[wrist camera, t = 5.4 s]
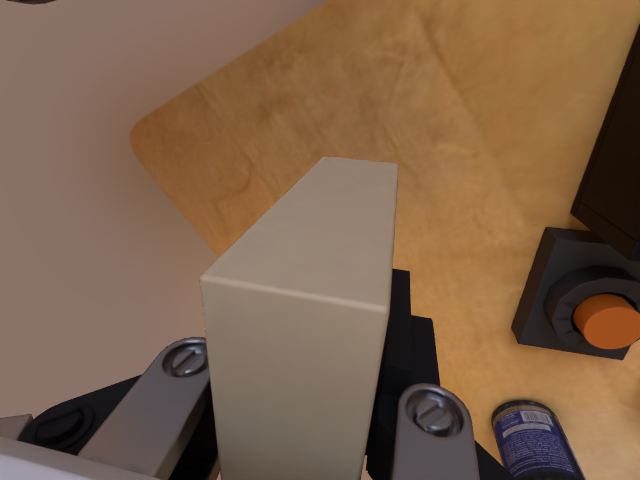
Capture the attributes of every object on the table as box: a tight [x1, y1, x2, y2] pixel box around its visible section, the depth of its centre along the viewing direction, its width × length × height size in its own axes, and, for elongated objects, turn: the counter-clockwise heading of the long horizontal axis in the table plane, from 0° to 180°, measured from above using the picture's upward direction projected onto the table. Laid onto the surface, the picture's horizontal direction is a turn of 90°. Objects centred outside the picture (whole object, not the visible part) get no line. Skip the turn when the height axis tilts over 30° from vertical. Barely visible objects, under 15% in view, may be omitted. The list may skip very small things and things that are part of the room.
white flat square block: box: [200, 156, 399, 480], centre depth 10 cm, size 2×8×8 cm, turn 177°
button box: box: [511, 227, 640, 360], centre depth 27 cm, size 10×8×4 cm
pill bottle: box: [492, 400, 586, 480], centre depth 31 cm, size 6×6×11 cm
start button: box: [573, 294, 640, 349], centre depth 25 cm, size 4×4×2 cm
